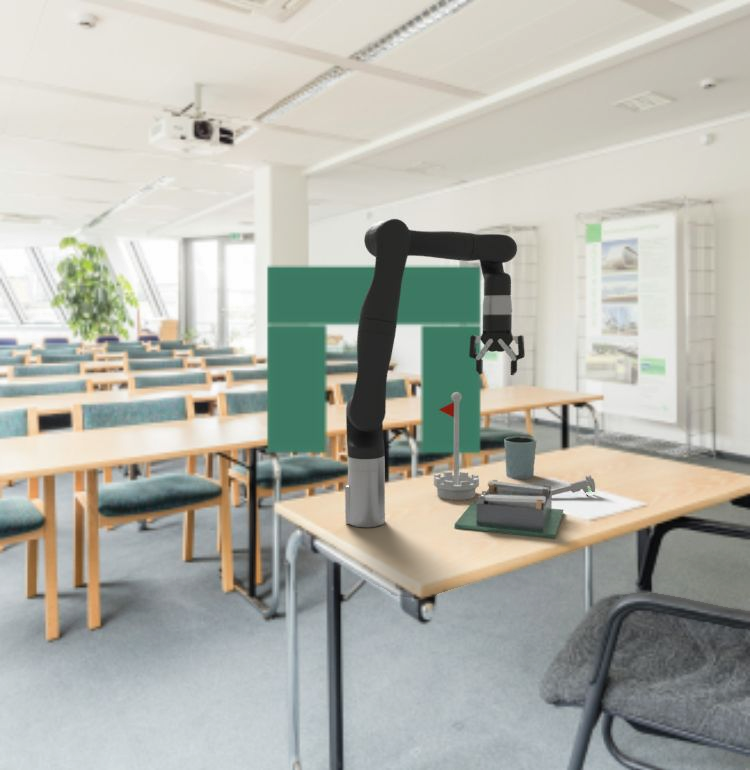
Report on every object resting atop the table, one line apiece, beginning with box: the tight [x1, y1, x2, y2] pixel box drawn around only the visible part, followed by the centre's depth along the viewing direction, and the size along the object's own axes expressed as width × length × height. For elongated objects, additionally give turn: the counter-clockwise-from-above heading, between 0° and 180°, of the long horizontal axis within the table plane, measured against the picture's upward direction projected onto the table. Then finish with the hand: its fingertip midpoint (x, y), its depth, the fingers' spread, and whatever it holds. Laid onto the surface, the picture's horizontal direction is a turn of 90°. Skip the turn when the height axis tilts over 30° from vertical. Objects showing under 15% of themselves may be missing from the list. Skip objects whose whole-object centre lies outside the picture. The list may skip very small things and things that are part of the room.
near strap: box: [481, 493, 546, 503], centre depth 166 cm, size 16×3×1 cm, turn 69°
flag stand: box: [433, 391, 480, 501], centre depth 195 cm, size 13×13×30 cm
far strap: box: [487, 480, 550, 493], centre depth 177 cm, size 16×3×1 cm, turn 70°
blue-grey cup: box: [503, 435, 537, 480], centre depth 217 cm, size 10×10×12 cm
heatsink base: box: [454, 479, 565, 540], centre depth 171 cm, size 24×21×8 cm
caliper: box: [551, 474, 596, 496], centre depth 192 cm, size 20×1×6 cm, turn 100°
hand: (496, 374), depth 180 cm, fingers open, 8 cm apart
